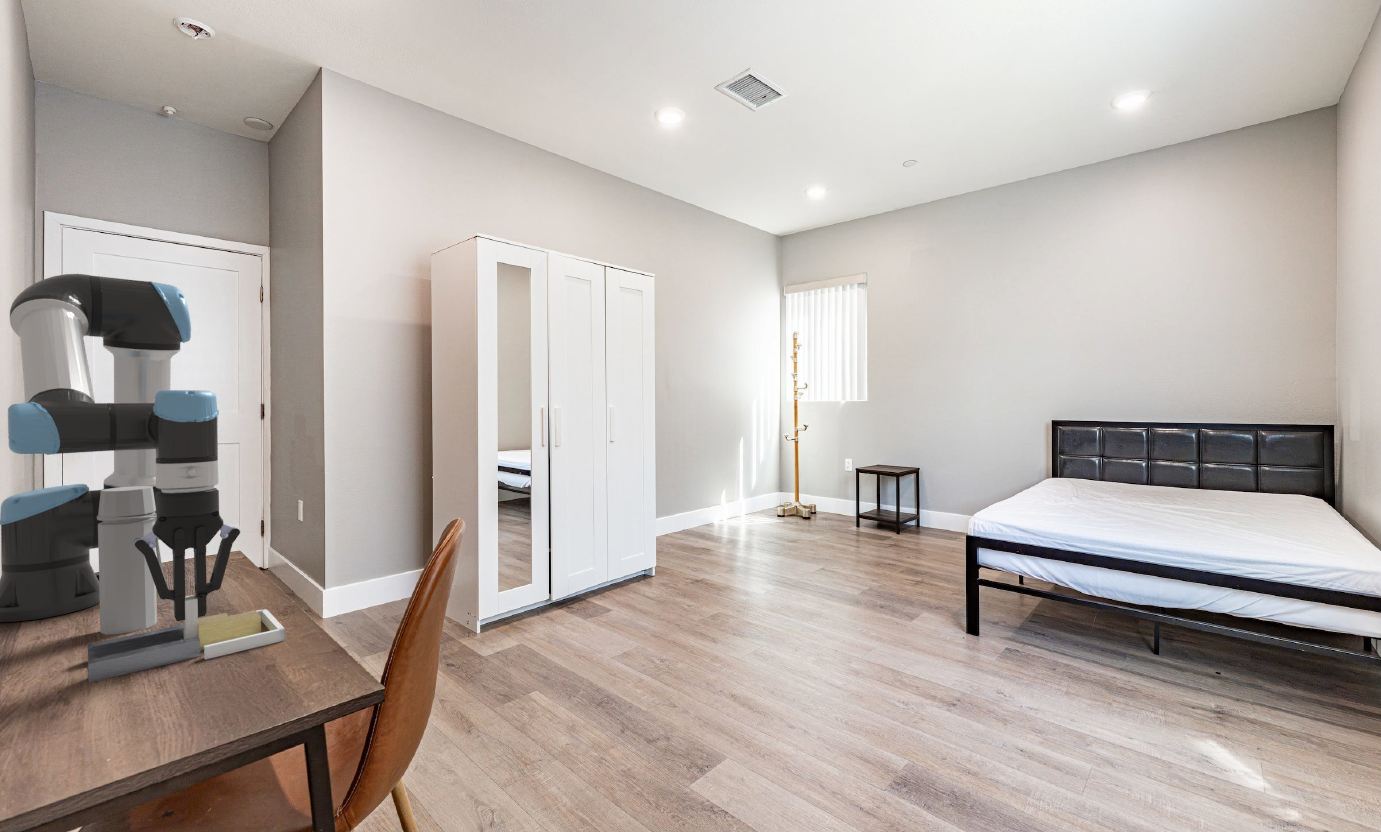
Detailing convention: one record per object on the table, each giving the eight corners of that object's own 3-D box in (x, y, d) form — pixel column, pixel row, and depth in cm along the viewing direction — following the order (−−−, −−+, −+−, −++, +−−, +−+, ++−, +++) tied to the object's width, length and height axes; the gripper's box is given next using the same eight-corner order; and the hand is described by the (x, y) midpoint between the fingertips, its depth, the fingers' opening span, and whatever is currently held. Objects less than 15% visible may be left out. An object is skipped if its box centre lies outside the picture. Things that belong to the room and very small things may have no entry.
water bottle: (123, 643, 99) (120, 492, 99) (86, 639, 101) (83, 491, 100) (181, 623, 108) (178, 484, 108) (146, 620, 110) (143, 483, 109)
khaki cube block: (226, 640, 99) (226, 616, 99) (256, 634, 102) (255, 610, 102) (231, 647, 96) (230, 622, 96) (261, 640, 99) (260, 616, 99)
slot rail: (87, 668, 90) (87, 644, 90) (191, 645, 98) (191, 622, 98) (89, 690, 83) (88, 664, 83) (200, 663, 91) (200, 639, 91)
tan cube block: (195, 643, 96) (194, 619, 96) (226, 636, 99) (226, 612, 99) (199, 650, 93) (198, 625, 93) (231, 643, 96) (230, 618, 96)
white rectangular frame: (192, 641, 100) (192, 623, 100) (266, 625, 107) (266, 608, 107) (205, 667, 90) (204, 647, 90) (285, 647, 97) (285, 628, 97)
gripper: (132, 496, 87) (136, 658, 87) (244, 487, 96) (246, 633, 96) (129, 490, 92) (132, 644, 92) (235, 482, 101) (237, 622, 102)
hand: (191, 638), depth 94 cm, fingers closed
